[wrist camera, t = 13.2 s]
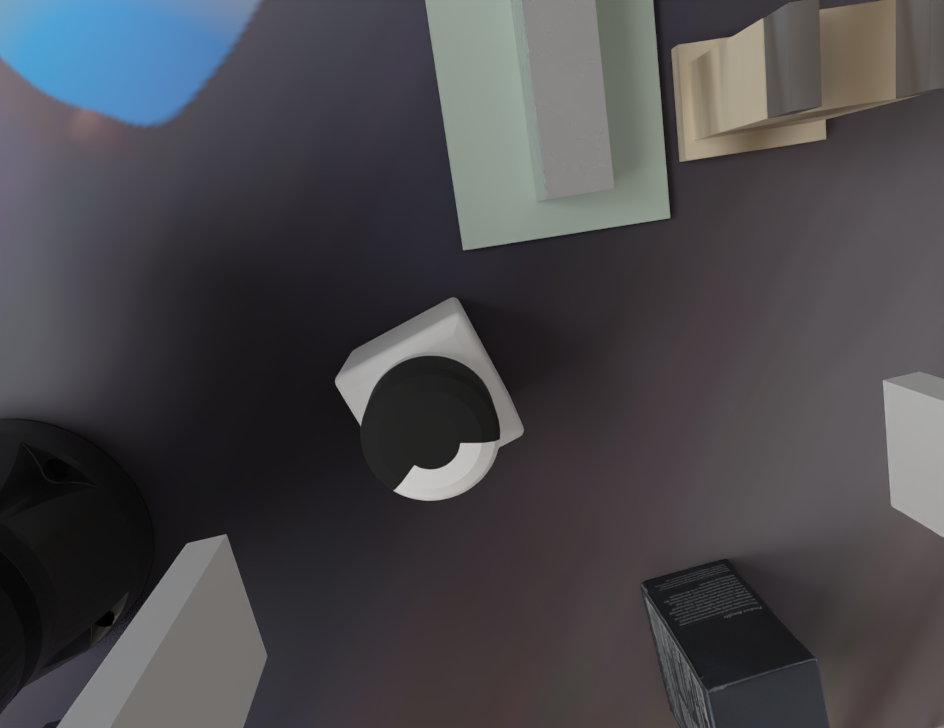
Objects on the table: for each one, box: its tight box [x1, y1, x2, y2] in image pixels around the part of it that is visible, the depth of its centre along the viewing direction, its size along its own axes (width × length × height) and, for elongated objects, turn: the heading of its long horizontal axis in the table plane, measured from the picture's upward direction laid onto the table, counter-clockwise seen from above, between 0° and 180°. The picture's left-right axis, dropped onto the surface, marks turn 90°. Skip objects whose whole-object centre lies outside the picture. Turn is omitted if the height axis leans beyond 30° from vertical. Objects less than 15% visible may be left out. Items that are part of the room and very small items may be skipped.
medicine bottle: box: [335, 297, 524, 501], centre depth 33 cm, size 7×7×12 cm
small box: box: [641, 559, 829, 728], centre depth 39 cm, size 11×6×10 cm, turn 16°
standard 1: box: [671, 0, 944, 162], centre depth 31 cm, size 8×6×11 cm
